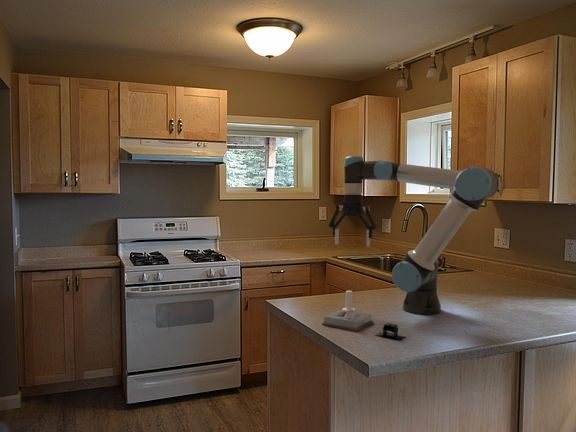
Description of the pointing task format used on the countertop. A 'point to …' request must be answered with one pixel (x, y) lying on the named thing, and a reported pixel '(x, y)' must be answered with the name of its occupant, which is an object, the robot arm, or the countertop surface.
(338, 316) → the block
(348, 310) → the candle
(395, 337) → the black bracket mount
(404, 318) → the countertop surface
